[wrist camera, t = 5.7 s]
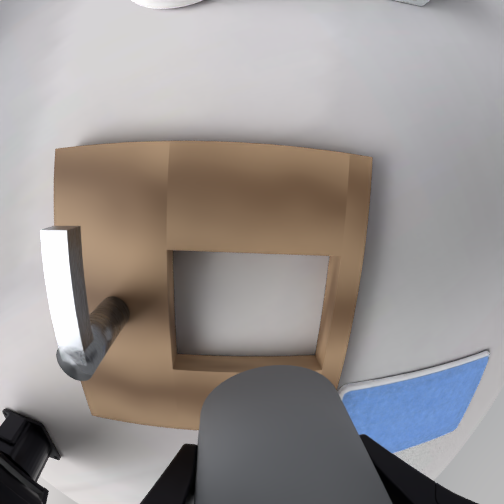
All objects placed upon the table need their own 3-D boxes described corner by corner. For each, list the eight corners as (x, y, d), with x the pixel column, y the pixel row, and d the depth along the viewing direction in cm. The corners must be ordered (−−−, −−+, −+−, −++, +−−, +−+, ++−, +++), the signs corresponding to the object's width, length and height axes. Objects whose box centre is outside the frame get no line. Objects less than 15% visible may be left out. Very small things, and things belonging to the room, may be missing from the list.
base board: (320, 410, 22) (326, 426, 20) (99, 400, 20) (92, 415, 18) (358, 159, 18) (372, 157, 16) (70, 151, 16) (55, 148, 14)
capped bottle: (324, 453, 10) (365, 571, 4) (203, 458, 10) (199, 590, 4) (353, 360, 9) (447, 509, 3) (197, 363, 8) (175, 558, 2)
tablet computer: (315, 464, 25) (318, 473, 24) (336, 380, 22) (341, 390, 21) (451, 425, 26) (456, 431, 25) (486, 345, 24) (493, 350, 22)
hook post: (131, 327, 17) (97, 384, 11) (103, 324, 17) (62, 376, 11) (124, 213, 15) (73, 230, 10) (93, 213, 15) (34, 230, 9)
